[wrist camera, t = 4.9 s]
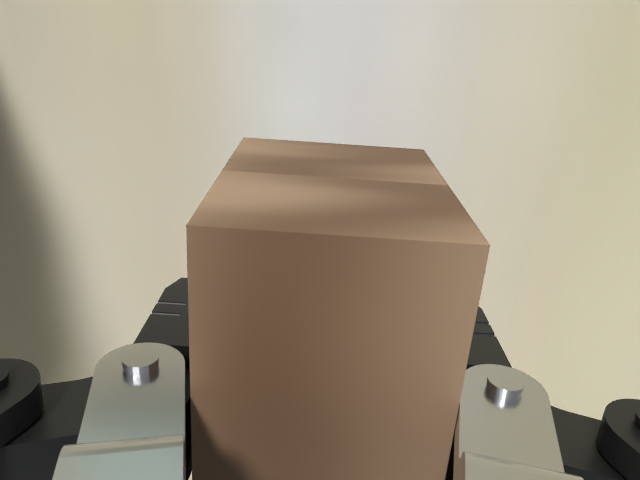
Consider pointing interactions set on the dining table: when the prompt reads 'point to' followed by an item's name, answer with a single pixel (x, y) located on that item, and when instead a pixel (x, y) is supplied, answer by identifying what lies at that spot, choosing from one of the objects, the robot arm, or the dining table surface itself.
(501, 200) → the dining table surface
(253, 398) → the block
